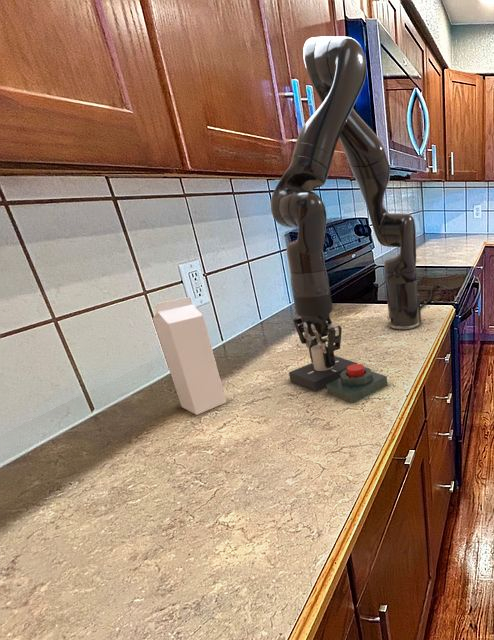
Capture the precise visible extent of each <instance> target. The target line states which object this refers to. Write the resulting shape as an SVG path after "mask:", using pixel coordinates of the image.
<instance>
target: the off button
mask: <svg viewBox="0 0 494 640" xmlns="http://www.w3.org/2000/svg"><path fill="white" fill-rule="evenodd" d="M364 367H365V365H363V364H362V363H357V364H352V365H349V366H348V367H347V374H348V376H349V377H359V376H362V375H365V370H364Z"/></svg>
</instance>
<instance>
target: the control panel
mask: <svg viewBox="0 0 494 640" xmlns="http://www.w3.org/2000/svg"><path fill="white" fill-rule="evenodd" d="M334 357H335V365H334V366H333V368H331V369H329V370H326V371H316V370H315V369H314V365H313V363H312V362H311V363H309V364H306V365H304V366H301V367H299V368H295V369H293V370H291V371H288V375H289V380H290V383H291V384H294V385H297V386H300V387H302V388H304V389H308V390H309V391H312V392H315V393H317V392H320V391H322V390H324V389H327V386H326V384H329V383H331V382H333V381H335V380H337V379H339V378H340V374H341V373H342V371H344V370H346V369H347V367H348V366H349V365H352V364H358V362H356V361H352V360H349V359H346V358H343V357H339V356H336V355H334Z"/></svg>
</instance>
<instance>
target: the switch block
mask: <svg viewBox="0 0 494 640" xmlns="http://www.w3.org/2000/svg"><path fill="white" fill-rule="evenodd" d="M364 370H365V375H362V376H359V377H349V376H348V374H347V369H346V370H344V371H342V373H341V374H340V378H339V379H337V380H335V381H333V382H331V383H329V384H326V386H327V387H326V391H327V394H328V395H331V396H332V397H336V398H338V399H341V400H343V401H346V402H348V403H351V404H355V403H356V402H359V401H360V400H362V399H364V398H366V397H368V396H369V395H371V394H373V393H375V392H377V391H380V390H381V389H383V388H384V387H387V386H388V385H389V384H388V378H387V376H386V375H384V374H381V373H377V372H374V371H373V370H372V369H371V368H370V367H366V366H364Z"/></svg>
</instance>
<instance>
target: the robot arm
mask: <svg viewBox="0 0 494 640" xmlns="http://www.w3.org/2000/svg"><path fill="white" fill-rule="evenodd" d="M302 52H303V54H302V55H303V62H304V65H305V69H306V71H307V75H308V78H309V80H310V82H311V84H312V87H313V88H314V91H315V92H316V94H317V96H318V98H319V100H320V102H321V104H320V106H319V107H318V108H317V109H316V110H315V112H314V113H313V114H312V115H311V117H309V118H308V120H307V121H306V122H305V124H304V125H303V127H301V129H300V131H299V133H298V136H297V138H296V141H295V143H294V149H293V152H292V155H291V160H290V164H289V166H288V168H287V169H286V170H285V171H284V173H283V175H282V176H281V178H280V180H279V181H278V183H277V185H276V186H275V188H274V190H273V192H272V195H271V198H270V213H271V215H272V218H273V219H274V221H275V222H276V223H277V224H278V225H280V226H282V227H284V228H289V229H291V228H292V229H298V233H297V238H296V240H292V241H289V242H288V243H287V245H286V256H287V262H288V269H289V275H290V276H289V277H290V287H291V292H292V297H293V298H292V299H293V304H294V308H295V313H296V315H298V317H296V318H293V320H292V322H293V324H294V326H295V329H296V333H297V335H298V338H299V341H300V343H301V344H302V345H304V344H305V346H306V348H307V349H308V353H309V357H310V362H311V363H313V359H312V353H311V347H312V346H314V345H318V344H321V347H322V350H323V352H324V353H323V356H324V363H325V367H326V368H330V367H333V366H334V365H335V357H334V356H335V351H338V350H340V349H341V342H342V332H343V331H342V330H343V329H342V326H341V325H334V324H333V321H332V320H331V317H330V316H331V315H330V314H331V313H332V311H333V309H334V307H333V301H332V294H331V288H330V281H329V276H328V273H327V269H326V261H325V255H324V246H325V245H324V244H325V236H326V227H327V221H328V220H327V210H326V206H325V203H324V202H323V200H322V198H321V197H320V196H319V195H318V194H317V193H316V192H314V190H315V189H317V188H320V187H323V186H324V185H325V184H326V182H327V179H328V176H329V173H330V169H331V166H332V161H333V158H334V154H335V151H336V147H337V146H338V145H337V144H338V142H339V141H340V144H341V146H342V149H343V151H344V154H345V157H346V159H347V163H348V165H349V167H350V170H351V172H352V174H353V177H354V179H355V181H356V183H357V185H358V188H359V190H360V193H361V195H362V198H363V200H364V204H365V206H366V210H367V213H368V216H369V219H370V222H371V225H372V229H373V232H374V234H375V237H376V239H377V241H378V243H379V244H380V245H381V246H383V247H387V248H399V254H398V255H396V256H395V257H392V258H388V259H386V260H385V261H384V262H383V266H384V278H385V288H386V300H387V301H386V302H387V314H388V315H387V316H386V317H387V321H388V326H389V328H391V329H394V330H411V329H416V328H417V327H419V326H420V324H421V323H422V314H421V309H422V308H423V307H425V306H426V305H427V304H428V303H429V302H430V301H431V300H432V299H433V291H434V290H435V289H436V288H440V285H439V284H435V285H433V287H432V288H431V289H430V290H429V292H430V294H429V297H428V299H427V300H426V301H424V302H423V303H422V304H421V296H420V293H419V292H418V283H417V282H418V279H417V226H416V220H415V219H414V217H413V216H412V214H410V213H390V212H388V211H387V209H386V206H385V202H384V198H385V195H386V191H387V189H388V185H389V182H390V179H391V167H390V163H389V160H388V157H387V154H386V150H385V148H384V145H383V143H382V141H381V140H380V138H379V137H378V136H377V134H376V133H375V131H374V130H373V129H372V128H371V127H370V126H369V125H368V124H367V123H366V122H365V121H364V119H362V117H361V116H360V115H359V114H358V113H357V112H356V109H354V106H355V104H356V103H357V101H358V98H359V96H360V94H361V92H362V90H363V87H364V84H365V81H366V78H367V69H368V68H367V60H366V55H365V51H364V50H363V47H362V46H361V44H360V43H359V42H358V41H357V40H356V39H354V38H352V37H350V36H315V37H310V38H308V39H307V40H306V41H305V43H304V45H303V51H302ZM326 344H328V347H326Z"/></svg>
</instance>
